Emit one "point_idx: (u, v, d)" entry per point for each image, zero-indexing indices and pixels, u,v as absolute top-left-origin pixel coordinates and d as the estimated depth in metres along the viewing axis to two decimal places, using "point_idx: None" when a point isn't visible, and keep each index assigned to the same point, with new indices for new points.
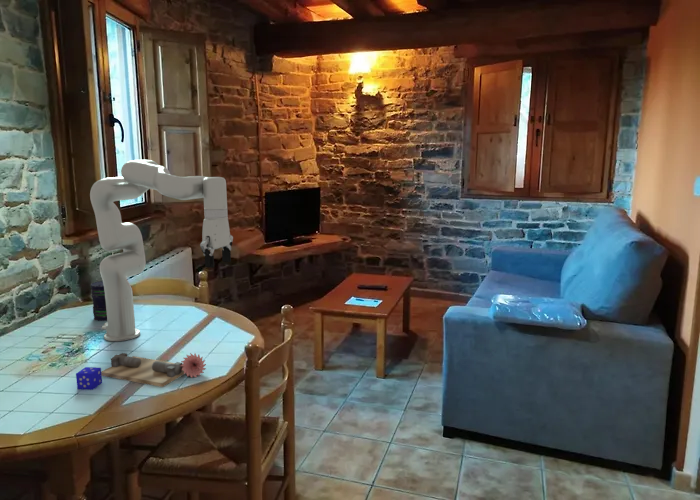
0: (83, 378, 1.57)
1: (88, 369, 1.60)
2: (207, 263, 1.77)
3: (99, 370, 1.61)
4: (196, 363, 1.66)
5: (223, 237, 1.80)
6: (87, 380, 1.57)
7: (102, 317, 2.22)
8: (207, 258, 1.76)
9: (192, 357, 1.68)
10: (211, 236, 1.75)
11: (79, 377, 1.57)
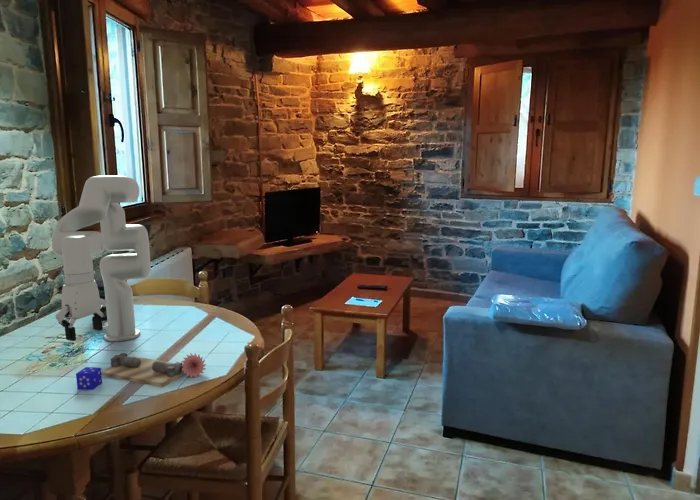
0: (83, 378, 1.57)
1: (88, 369, 1.60)
2: (67, 336, 1.52)
3: (99, 370, 1.61)
4: (196, 363, 1.66)
5: (88, 304, 1.55)
6: (87, 380, 1.57)
7: (102, 317, 2.22)
8: (67, 330, 1.51)
9: (192, 357, 1.68)
10: (70, 305, 1.51)
11: (79, 377, 1.57)
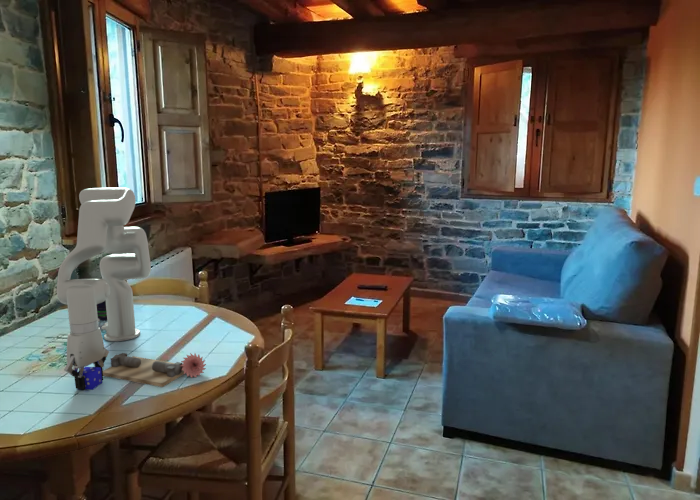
0: None
1: (88, 369, 1.60)
2: (77, 385, 1.56)
3: (99, 370, 1.61)
4: (196, 363, 1.66)
5: (93, 352, 1.58)
6: (87, 380, 1.57)
7: (102, 317, 2.22)
8: (76, 380, 1.56)
9: (192, 357, 1.68)
10: (75, 354, 1.53)
11: None
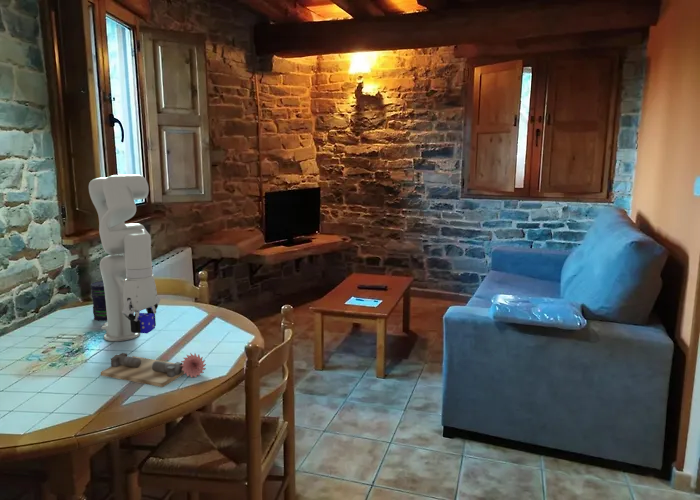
0: None
1: (142, 314, 1.67)
2: (132, 328, 1.63)
3: (152, 315, 1.68)
4: (196, 363, 1.66)
5: (147, 298, 1.65)
6: (142, 324, 1.64)
7: (102, 317, 2.22)
8: (132, 323, 1.63)
9: (192, 357, 1.68)
10: (132, 298, 1.60)
11: None
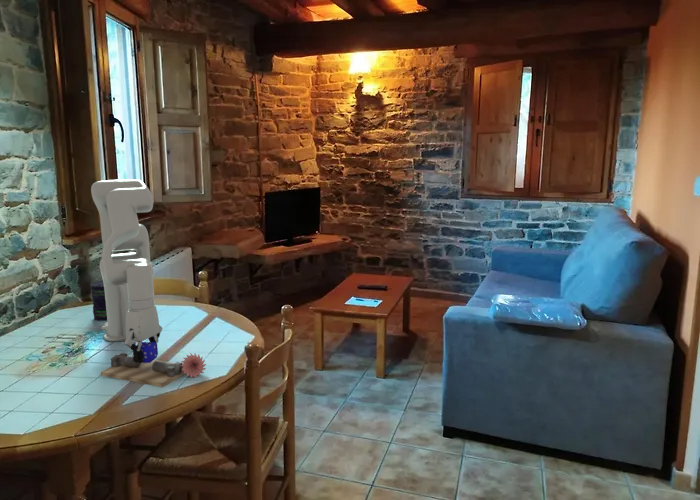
0: None
1: (144, 343, 1.69)
2: (135, 358, 1.65)
3: (155, 345, 1.70)
4: (196, 363, 1.66)
5: (150, 327, 1.67)
6: (144, 353, 1.66)
7: (102, 317, 2.22)
8: (135, 353, 1.65)
9: (192, 357, 1.68)
10: (135, 329, 1.62)
11: None
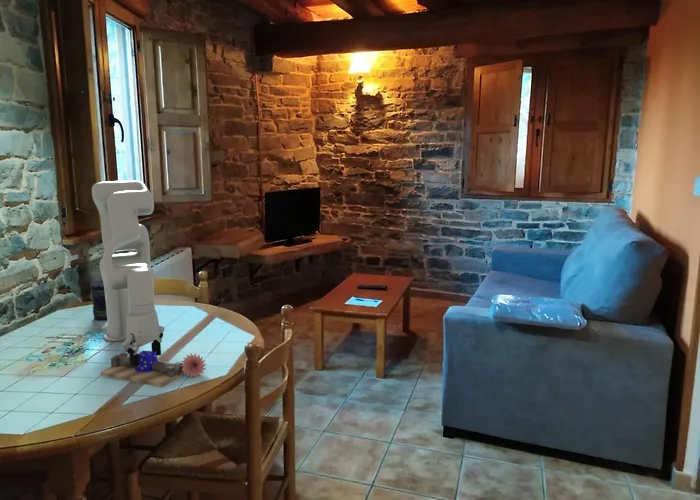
0: (141, 361, 1.67)
1: (145, 352, 1.70)
2: (131, 362, 1.64)
3: (155, 354, 1.70)
4: (196, 363, 1.66)
5: (150, 332, 1.67)
6: (144, 363, 1.67)
7: (102, 317, 2.22)
8: (131, 357, 1.63)
9: (192, 357, 1.68)
10: (135, 334, 1.62)
11: None
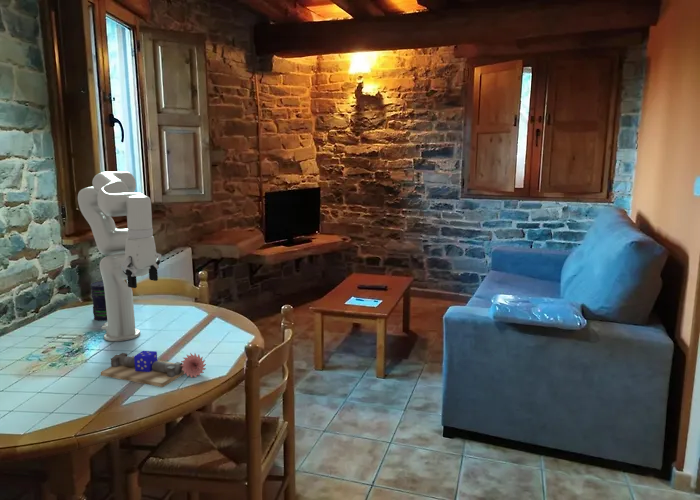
0: (141, 361, 1.67)
1: (145, 352, 1.70)
2: (129, 283, 1.74)
3: (155, 354, 1.70)
4: (196, 363, 1.66)
5: (147, 257, 1.76)
6: (144, 363, 1.67)
7: (102, 317, 2.22)
8: (129, 278, 1.73)
9: (192, 357, 1.68)
10: (133, 257, 1.72)
11: (137, 359, 1.67)
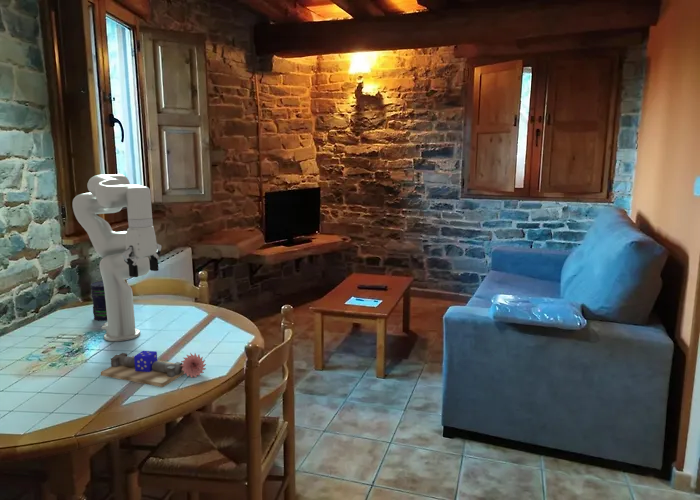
0: (141, 361, 1.67)
1: (145, 352, 1.70)
2: (131, 273, 1.76)
3: (155, 354, 1.70)
4: (196, 363, 1.66)
5: (148, 246, 1.79)
6: (144, 363, 1.67)
7: (102, 317, 2.22)
8: (130, 268, 1.76)
9: (192, 357, 1.68)
10: (134, 246, 1.75)
11: (137, 359, 1.67)
